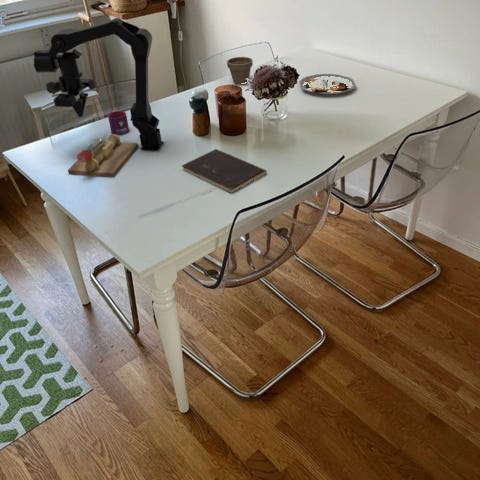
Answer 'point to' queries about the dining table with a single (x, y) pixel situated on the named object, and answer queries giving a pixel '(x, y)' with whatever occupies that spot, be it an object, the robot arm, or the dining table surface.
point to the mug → (118, 122)
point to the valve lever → (90, 150)
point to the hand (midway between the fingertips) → (80, 116)
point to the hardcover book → (224, 170)
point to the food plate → (318, 90)
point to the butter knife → (199, 193)
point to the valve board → (105, 159)
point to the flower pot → (240, 68)
